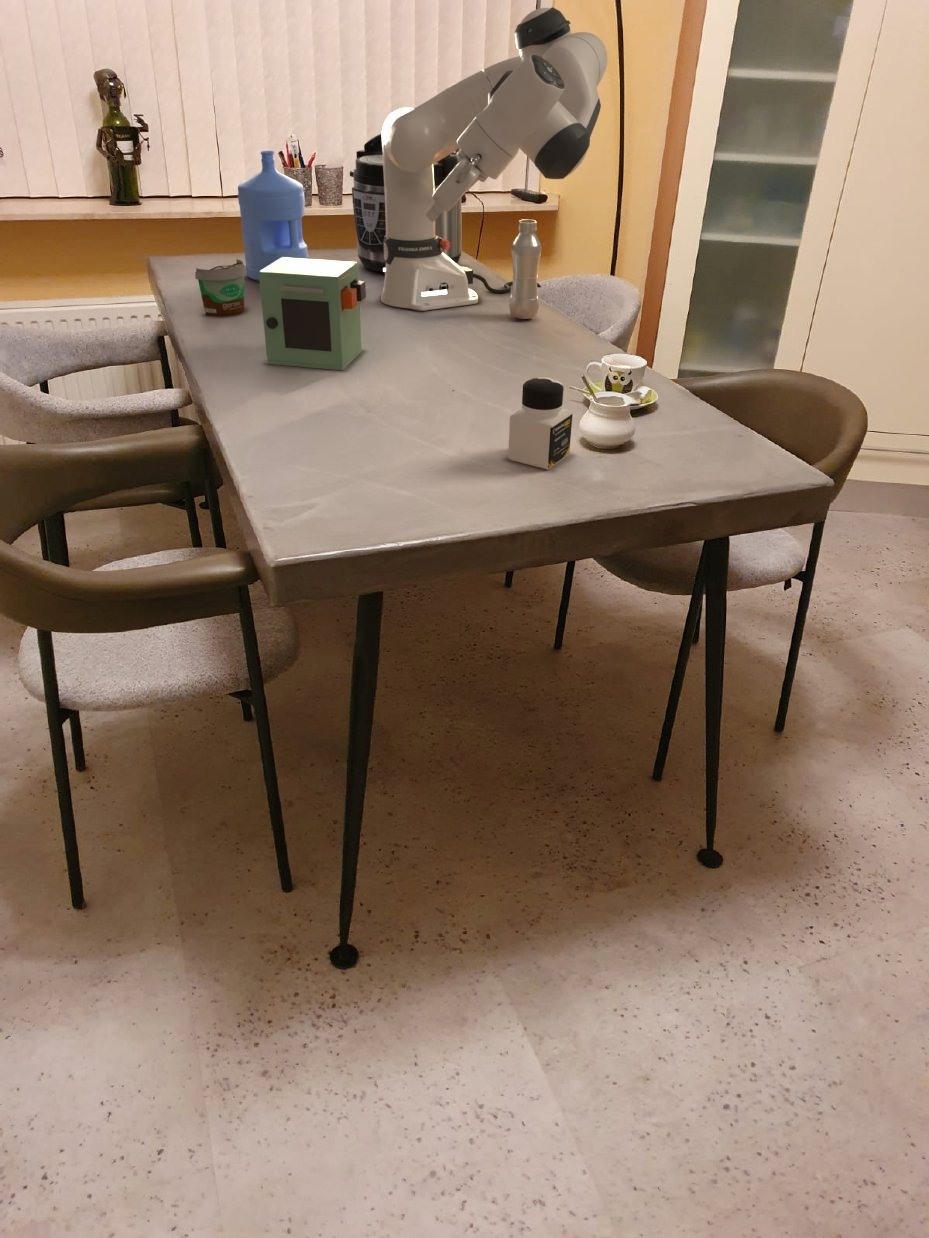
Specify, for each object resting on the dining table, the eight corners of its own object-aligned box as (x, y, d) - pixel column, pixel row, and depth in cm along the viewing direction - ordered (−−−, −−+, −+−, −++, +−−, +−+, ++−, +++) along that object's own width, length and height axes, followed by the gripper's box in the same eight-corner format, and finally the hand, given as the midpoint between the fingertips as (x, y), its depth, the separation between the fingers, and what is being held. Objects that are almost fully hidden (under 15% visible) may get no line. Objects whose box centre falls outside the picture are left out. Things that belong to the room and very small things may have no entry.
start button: (357, 305, 178) (356, 288, 176) (352, 309, 175) (351, 292, 174) (341, 304, 178) (340, 287, 176) (336, 308, 176) (335, 291, 174)
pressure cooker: (338, 257, 257) (331, 124, 240) (436, 249, 267) (436, 121, 250) (374, 283, 234) (369, 139, 217) (480, 274, 244) (483, 135, 227)
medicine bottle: (548, 470, 143) (553, 393, 137) (507, 460, 146) (510, 383, 140) (570, 455, 148) (576, 379, 142) (529, 444, 152) (533, 370, 145)
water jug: (232, 276, 238) (219, 152, 223) (277, 265, 249) (267, 145, 233) (278, 286, 230) (267, 158, 215) (322, 274, 241) (315, 151, 226)
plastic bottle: (518, 323, 208) (522, 225, 197) (503, 315, 213) (506, 219, 202) (543, 320, 210) (549, 223, 199) (528, 312, 215) (532, 217, 204)
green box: (361, 351, 190) (357, 262, 181) (340, 372, 179) (335, 278, 170) (289, 345, 192) (282, 257, 183) (264, 366, 181) (255, 273, 172)
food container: (219, 322, 205) (213, 273, 200) (200, 316, 208) (193, 268, 203) (262, 309, 214) (257, 263, 208) (243, 305, 217) (238, 258, 211)
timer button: (365, 297, 182) (365, 281, 180) (361, 301, 180) (360, 285, 178) (350, 296, 183) (349, 280, 181) (345, 300, 180) (345, 284, 179)
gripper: (490, 175, 151) (434, 243, 158) (503, 158, 168) (452, 220, 175) (460, 145, 149) (404, 215, 156) (476, 131, 166) (426, 195, 173)
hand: (430, 217), depth 165 cm, fingers closed
